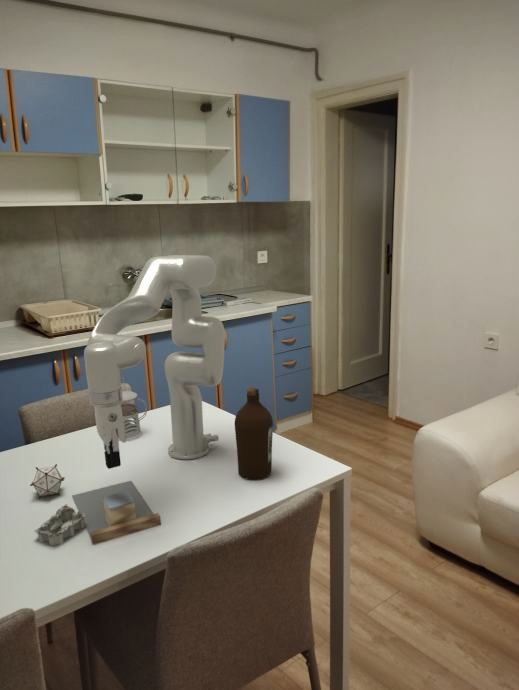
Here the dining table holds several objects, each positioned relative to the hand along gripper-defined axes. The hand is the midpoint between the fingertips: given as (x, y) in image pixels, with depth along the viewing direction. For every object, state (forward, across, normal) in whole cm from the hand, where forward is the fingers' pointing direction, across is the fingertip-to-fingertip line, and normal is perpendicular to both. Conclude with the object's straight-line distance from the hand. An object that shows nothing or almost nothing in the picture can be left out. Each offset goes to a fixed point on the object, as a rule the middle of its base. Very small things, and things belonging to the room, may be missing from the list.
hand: (113, 465), depth 136 cm
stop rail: (+13, -10, +1) cm, 16 cm away
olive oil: (+14, +1, -39) cm, 42 cm away
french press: (+14, +46, -17) cm, 51 cm away
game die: (+13, +18, +14) cm, 26 cm away
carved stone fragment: (+13, -2, +14) cm, 19 cm away
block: (+7, -4, +1) cm, 8 cm away
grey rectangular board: (+13, +3, +1) cm, 13 cm away
